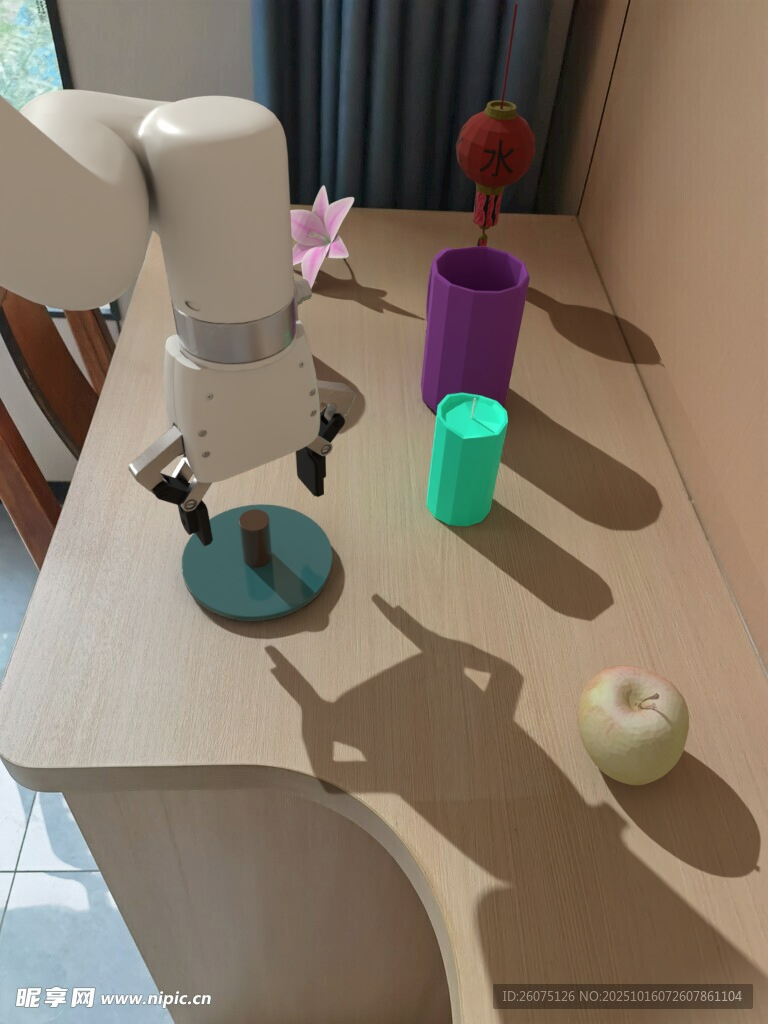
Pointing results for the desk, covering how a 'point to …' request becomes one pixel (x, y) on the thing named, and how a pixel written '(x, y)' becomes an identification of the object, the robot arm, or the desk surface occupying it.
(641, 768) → the fruit
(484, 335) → the mug
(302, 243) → the lily
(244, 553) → the lid
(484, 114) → the lantern
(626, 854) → the desk surface
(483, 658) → the desk surface
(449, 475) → the candle
